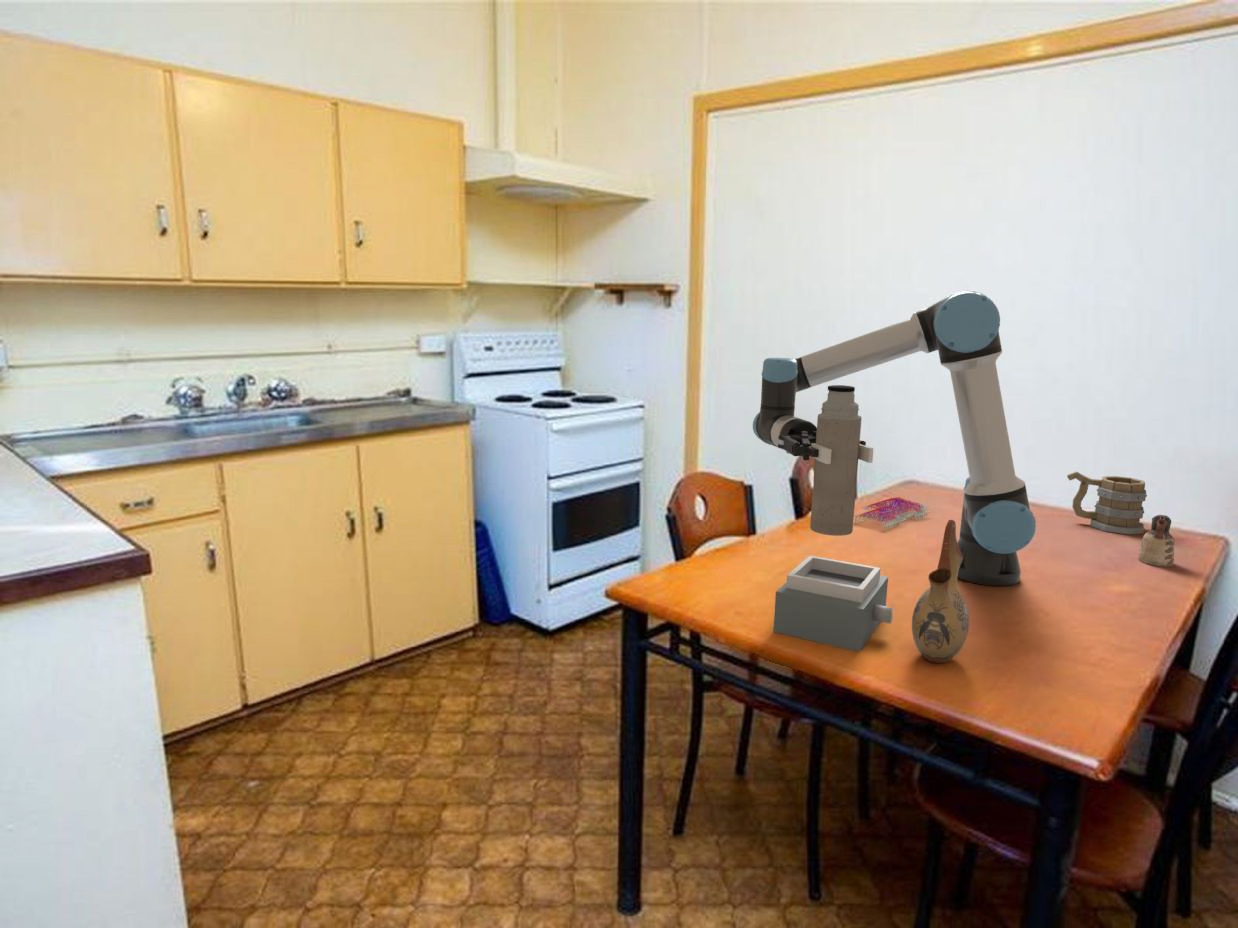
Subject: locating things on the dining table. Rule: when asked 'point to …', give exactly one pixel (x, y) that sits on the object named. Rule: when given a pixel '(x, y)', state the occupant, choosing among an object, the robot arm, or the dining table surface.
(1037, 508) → the dining table surface
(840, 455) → the thermos bottle
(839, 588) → the box
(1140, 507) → the tankard
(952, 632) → the ceramic vessel
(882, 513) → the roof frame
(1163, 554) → the figurine
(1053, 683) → the dining table surface
